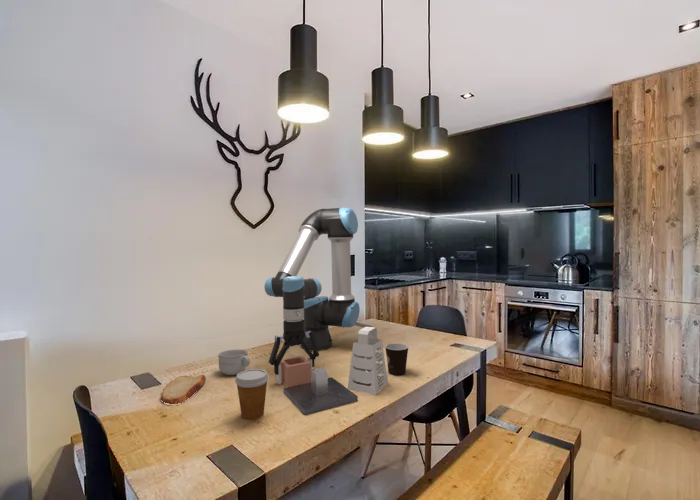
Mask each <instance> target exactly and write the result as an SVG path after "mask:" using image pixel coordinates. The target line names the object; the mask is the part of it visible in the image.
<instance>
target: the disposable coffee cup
mask: <svg viewBox="0 0 700 500" xmlns="http://www.w3.org/2000/svg"><path fill="white" fill-rule="evenodd" d="M269 379H270V376H269V375H268V372H267V370H264V369H261V368H250V369H245V370H243V371H242V372H240V373H238V374H236V378H235V380H234V382H235V384H236V387H237V388H236V389H237V393H238V394H237V395H238V401H239V406H240V407H239V408H240V414H241V419H244V420H246V421H250V420H257V419H260V418H261V417H264V413H265V406H266V405H265V404H266V397H267V396H266V395H267V386H268V381H269Z"/></svg>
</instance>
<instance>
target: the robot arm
mask: <svg viewBox="0 0 700 500" xmlns="http://www.w3.org/2000/svg"><path fill="white" fill-rule="evenodd" d="M358 228H359V222H358V217H357V214H356V213H355V211H354V210H353V209H352V208H349V207H335V208H334V207H333V208H320V209H316V210H315V211H313V212H312V213H310V214H309V215H308V216H307V217H306V218H305V219H304V220H303V221H302V223H301V224H300V226H299V228H298V234H297V237H296V238H295V240H294V242H293V243H292V246H291V247H290V249H289V251H288V253H287V255H286V257H285V259H284V260H283V263H282V264H281V266H280V268H279V270H278V272H277V273H276V275H275V277H274V276H273V277H268V278H267V279H266V280H265V283H264V291H265V294H266V295H267V296H269V297H274V298H282V302H283V306H282V312H283V313H282V318H283V325H282V326H283V328H282V329H283V334H282V335H275V336H274V344H273V347H272V349H271V353H270V356H269V358H268V364H269V365H270V366H273V373H274V374H275V376H276V383H277V384H278V385H282V381H281V365H280V362H281V360H282V359H284V357H285V355H286V353H287V351H288V350H289V349H290V347H295V346H300V349H303V350H304V351H305V353H306V354H307V355H308V357H307V358H306V359H307V360H308V361H310V362H311V370H313V368H314V367H315V360H316V359H317V358H318V357H320V354H319V351H323V350H327V349H330V348H332V347H333V339H332V336H331V333H330V329H329V326H330V327H338V328H352V327H354V326H355V325H356V324H357V321H358V319H359V316H360V310H361V309H360V308H361V307H360V303H359V302H357V301H355V300H356V299H355V296H354V295H353V294H352V272H351V271H352V270H351V266H352V265H351V241H352V240H353V239H354V235H355V234H356V233H358ZM322 235H327V239H328V240H329V241H330V248H331V249H330V251H331V252H330V253H331V284H332V285H331V287H332V288H331V289H332V290H331V291H332V292H331V293H332V294H331V295H330V296H329V297H328V296H325V295H324V296H319V295H320V294H321V293H322V284H321V282H320V281H319V279H317V278H310V277H309V278H304V277H303V276H299V275H298V273H300V272H299V271H300V270H301V268H302V266H303V264H304V262H305V260H306V258H307V256H308V254H309V252H310V250H311V248H312V246H313V244H314V243H315V241H317V240H318V239H319V238H320V236H322ZM282 341H284V342H283V344H282V346H281V343H282ZM280 346H281V348H280ZM279 350H280V351H279Z"/></svg>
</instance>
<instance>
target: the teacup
mask: <svg viewBox="0 0 700 500" xmlns="http://www.w3.org/2000/svg"><path fill="white" fill-rule="evenodd" d="M248 352H249V351H247V350H246V349H242V348H241V349H239V348H238V349H237V348H234V349H226V350H223V351H220V352H219V353H218V354H217V355H218V369H219V371H220V372H221V373H223V374H224V375H226V376H235V374H236V375H237V374H238V373H240V372H242V371H245V370H247V368H248V367H249V366H250V363H251V359H250V357H249V356H248Z"/></svg>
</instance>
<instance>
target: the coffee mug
mask: <svg viewBox="0 0 700 500" xmlns="http://www.w3.org/2000/svg"><path fill="white" fill-rule="evenodd" d="M384 347H385V354H386V363H387V365H386V366H387V372H388V374H389V375H391V376H394V377H395V376H396V377H401V376H404V375H406V370H407V363H408V362H407V361H408V354H409V353H408V352H409V345H407V344H405V343H398V342H397V343H395V342H394V343H388V344H386V345H385V346H384Z"/></svg>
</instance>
